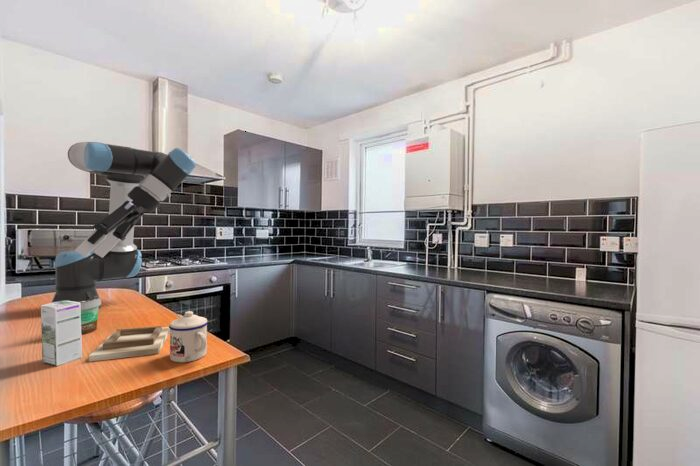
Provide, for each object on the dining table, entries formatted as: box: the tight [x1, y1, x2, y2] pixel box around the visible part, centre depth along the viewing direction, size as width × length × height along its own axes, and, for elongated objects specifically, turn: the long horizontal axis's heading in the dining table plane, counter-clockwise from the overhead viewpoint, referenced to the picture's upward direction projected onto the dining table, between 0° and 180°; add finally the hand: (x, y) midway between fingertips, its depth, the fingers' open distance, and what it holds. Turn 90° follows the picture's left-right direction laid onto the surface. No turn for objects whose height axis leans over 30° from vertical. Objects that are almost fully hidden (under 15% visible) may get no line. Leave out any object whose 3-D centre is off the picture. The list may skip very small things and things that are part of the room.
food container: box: [78, 296, 102, 336], centre depth 99 cm, size 12×6×10 cm, turn 168°
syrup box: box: [40, 300, 83, 367], centre depth 79 cm, size 6×6×14 cm
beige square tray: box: [88, 325, 170, 362], centre depth 90 cm, size 18×15×3 cm
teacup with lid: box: [168, 310, 209, 363], centre depth 83 cm, size 12×9×12 cm
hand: (89, 254), depth 83 cm, fingers open, 13 cm apart
